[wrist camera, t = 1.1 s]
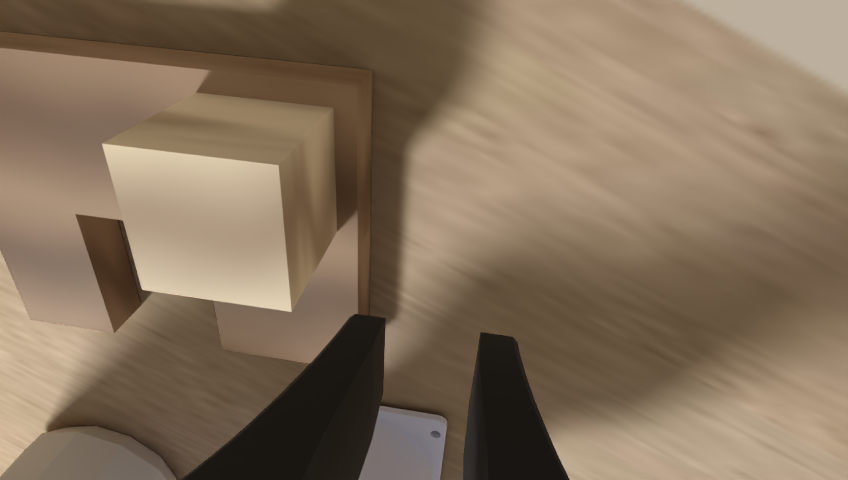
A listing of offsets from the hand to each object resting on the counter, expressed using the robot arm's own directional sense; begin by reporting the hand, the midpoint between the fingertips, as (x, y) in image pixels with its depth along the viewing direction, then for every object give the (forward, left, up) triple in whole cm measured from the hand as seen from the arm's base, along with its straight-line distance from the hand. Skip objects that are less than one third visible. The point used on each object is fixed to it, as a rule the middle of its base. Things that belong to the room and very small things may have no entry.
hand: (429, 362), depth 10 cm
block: (0, +7, -8) cm, 10 cm away
